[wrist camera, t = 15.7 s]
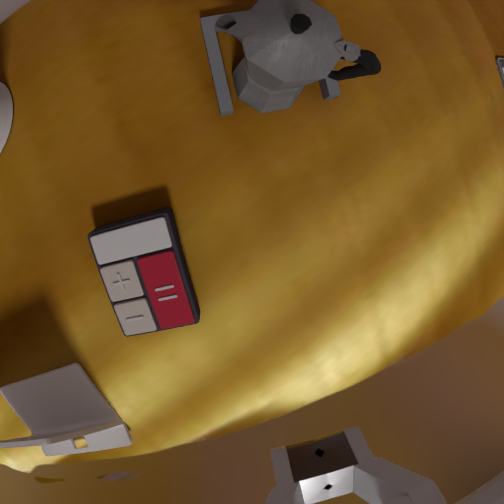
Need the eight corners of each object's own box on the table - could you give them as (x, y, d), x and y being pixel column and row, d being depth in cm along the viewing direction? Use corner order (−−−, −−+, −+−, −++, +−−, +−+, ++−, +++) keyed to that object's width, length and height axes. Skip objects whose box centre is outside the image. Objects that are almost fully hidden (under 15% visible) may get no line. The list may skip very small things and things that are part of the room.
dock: (220, 116, 37) (220, 112, 34) (201, 26, 33) (200, 18, 31) (334, 98, 37) (340, 94, 35) (309, 13, 34) (314, 5, 31)
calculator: (123, 340, 39) (83, 235, 35) (130, 324, 44) (95, 227, 39) (200, 326, 40) (166, 212, 35) (201, 310, 44) (171, 206, 39)
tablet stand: (-1, 386, 44) (-40, 437, 27) (78, 360, 43) (35, 429, 27) (51, 448, 48) (26, 503, 32) (136, 435, 48) (120, 507, 32)
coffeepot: (209, 104, 36) (200, 54, 19) (224, 40, 34) (228, -38, 17) (327, 129, 38) (399, 105, 21) (337, 66, 36) (405, 14, 19)
